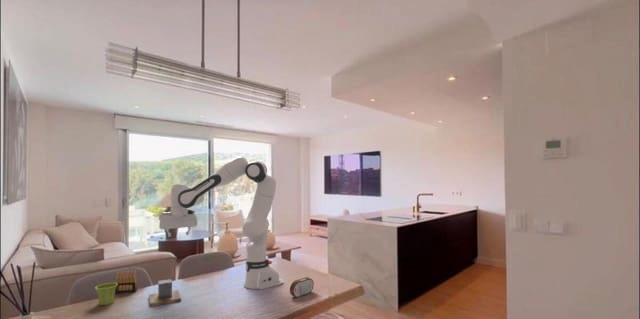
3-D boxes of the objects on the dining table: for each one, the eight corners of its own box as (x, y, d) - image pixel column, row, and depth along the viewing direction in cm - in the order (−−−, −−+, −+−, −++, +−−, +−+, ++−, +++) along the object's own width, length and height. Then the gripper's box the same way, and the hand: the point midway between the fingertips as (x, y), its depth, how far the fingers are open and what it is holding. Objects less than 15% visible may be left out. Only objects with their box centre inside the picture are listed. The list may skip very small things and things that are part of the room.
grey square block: (170, 293, 172) (171, 279, 173) (171, 297, 167) (171, 282, 167) (158, 295, 169) (158, 280, 170) (158, 299, 164) (158, 284, 164)
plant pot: (92, 303, 163) (93, 286, 164) (114, 298, 170) (114, 281, 171) (97, 308, 157) (98, 290, 158) (119, 302, 164) (120, 285, 164)
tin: (310, 290, 179) (310, 275, 179) (314, 292, 176) (314, 276, 177) (289, 298, 168) (289, 281, 168) (293, 299, 166) (293, 282, 166)
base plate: (178, 292, 177) (178, 289, 178) (180, 301, 165) (180, 298, 165) (149, 297, 171) (149, 294, 171) (149, 306, 158) (149, 303, 159)
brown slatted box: (136, 290, 182) (137, 268, 182) (135, 291, 180) (135, 269, 180) (116, 291, 180) (116, 269, 181) (114, 293, 178) (115, 270, 179)
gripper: (159, 213, 181) (158, 238, 181) (197, 211, 191) (197, 234, 191) (158, 212, 187) (158, 236, 186) (196, 210, 197) (196, 233, 196)
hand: (178, 235), depth 189 cm, fingers open, 8 cm apart
